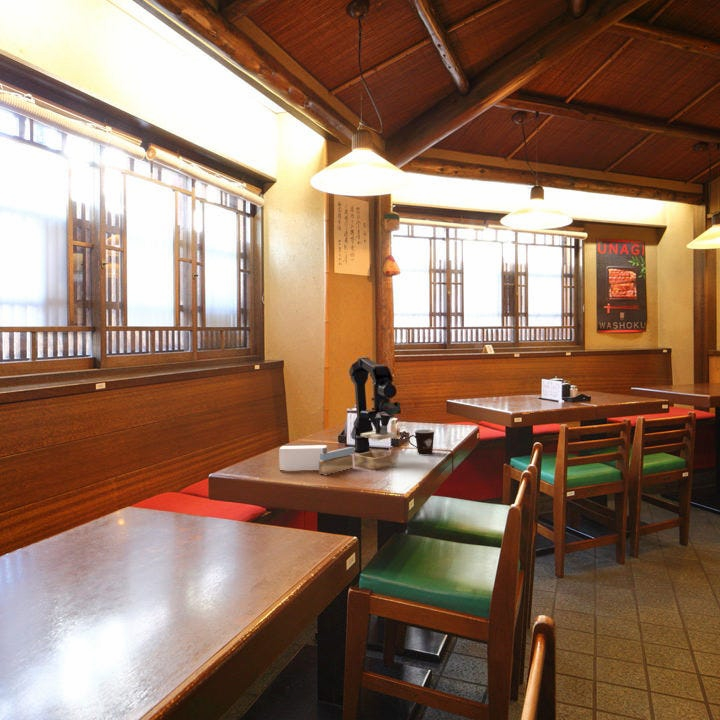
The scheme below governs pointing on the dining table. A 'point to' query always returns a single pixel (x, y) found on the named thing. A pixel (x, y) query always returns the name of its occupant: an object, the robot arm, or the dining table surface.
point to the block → (336, 453)
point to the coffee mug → (423, 441)
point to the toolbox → (373, 460)
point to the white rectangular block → (300, 457)
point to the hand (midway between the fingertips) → (381, 432)
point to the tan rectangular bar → (335, 464)
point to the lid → (379, 434)
